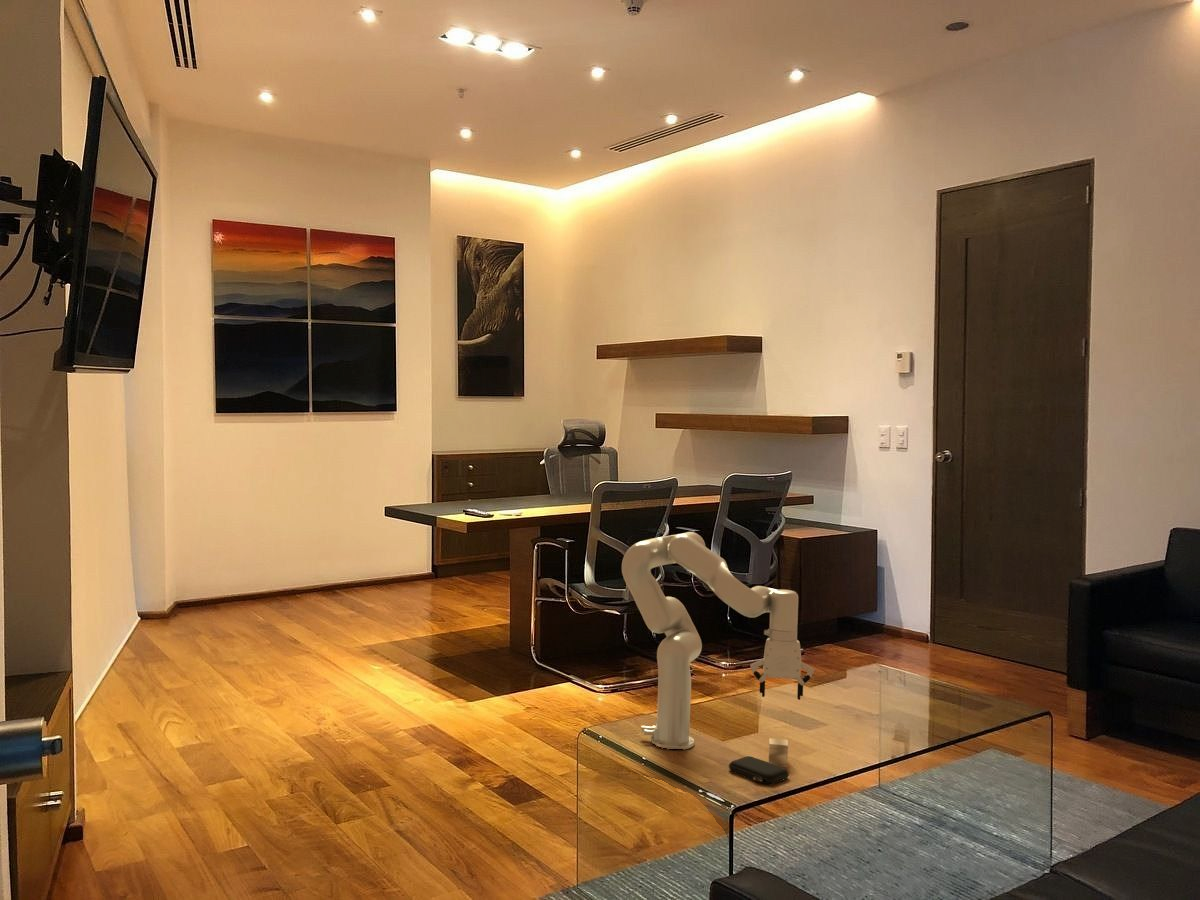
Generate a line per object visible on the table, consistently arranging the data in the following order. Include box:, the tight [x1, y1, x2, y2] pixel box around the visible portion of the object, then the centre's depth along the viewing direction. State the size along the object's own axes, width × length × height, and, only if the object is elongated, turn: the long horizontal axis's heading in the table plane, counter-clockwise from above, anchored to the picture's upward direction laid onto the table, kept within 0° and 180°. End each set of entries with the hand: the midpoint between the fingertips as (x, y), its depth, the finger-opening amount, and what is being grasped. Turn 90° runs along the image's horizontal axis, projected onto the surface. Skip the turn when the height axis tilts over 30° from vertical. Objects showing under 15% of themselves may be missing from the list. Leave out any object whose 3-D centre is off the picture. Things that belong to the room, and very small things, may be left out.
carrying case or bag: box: [728, 755, 789, 786], centre depth 250 cm, size 11×3×15 cm
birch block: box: [768, 737, 789, 768], centre depth 260 cm, size 5×5×6 cm
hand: (780, 697), depth 260 cm, fingers open, 9 cm apart
